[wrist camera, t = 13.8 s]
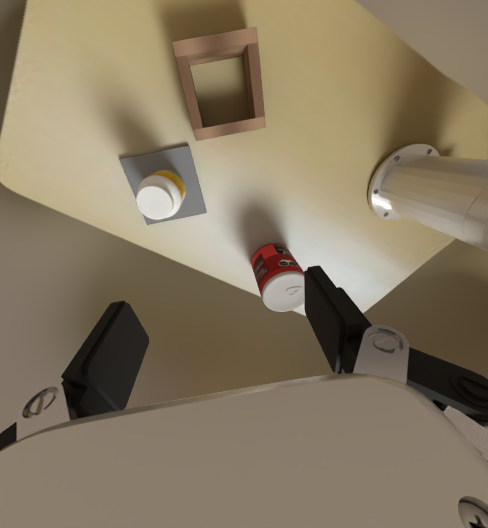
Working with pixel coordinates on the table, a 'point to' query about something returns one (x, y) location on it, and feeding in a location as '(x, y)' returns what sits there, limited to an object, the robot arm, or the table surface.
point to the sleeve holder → (216, 50)
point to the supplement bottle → (160, 194)
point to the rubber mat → (176, 162)
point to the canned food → (278, 278)
